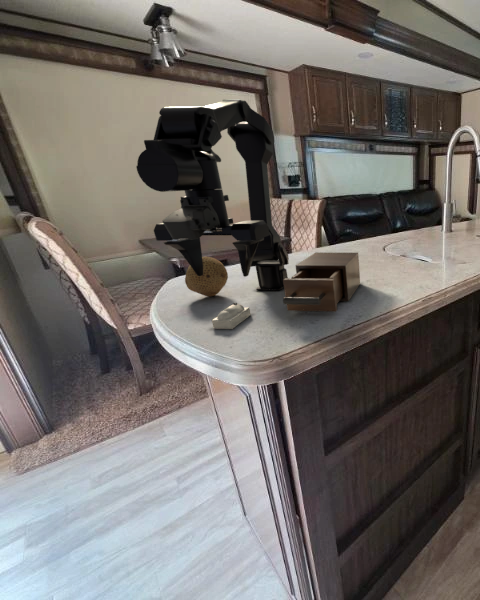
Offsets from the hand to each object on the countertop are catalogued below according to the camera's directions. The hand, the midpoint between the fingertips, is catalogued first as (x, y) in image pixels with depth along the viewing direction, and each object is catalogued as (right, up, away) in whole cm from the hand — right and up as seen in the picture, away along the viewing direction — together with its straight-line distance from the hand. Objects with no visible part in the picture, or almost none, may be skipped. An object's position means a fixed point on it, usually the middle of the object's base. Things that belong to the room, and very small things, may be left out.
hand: (223, 275), depth 60 cm
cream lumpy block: (0, -9, +3) cm, 10 cm away
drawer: (+16, -6, +9) cm, 19 cm away
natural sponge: (-13, -4, +18) cm, 22 cm away
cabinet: (+17, -2, +20) cm, 26 cm away
